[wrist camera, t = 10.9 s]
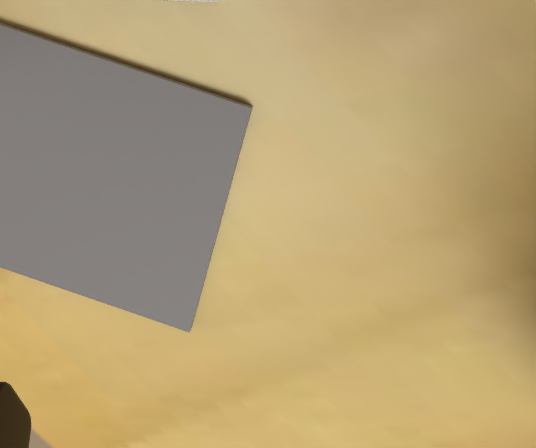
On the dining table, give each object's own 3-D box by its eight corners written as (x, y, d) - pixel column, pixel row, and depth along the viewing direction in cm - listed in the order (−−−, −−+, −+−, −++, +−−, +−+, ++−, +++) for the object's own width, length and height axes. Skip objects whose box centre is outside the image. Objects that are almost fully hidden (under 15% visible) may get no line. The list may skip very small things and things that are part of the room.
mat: (252, 106, 19) (250, 108, 18) (191, 327, 23) (189, 332, 23) (-17, 16, 19) (-25, 16, 18) (-23, 253, 24) (-29, 257, 23)
